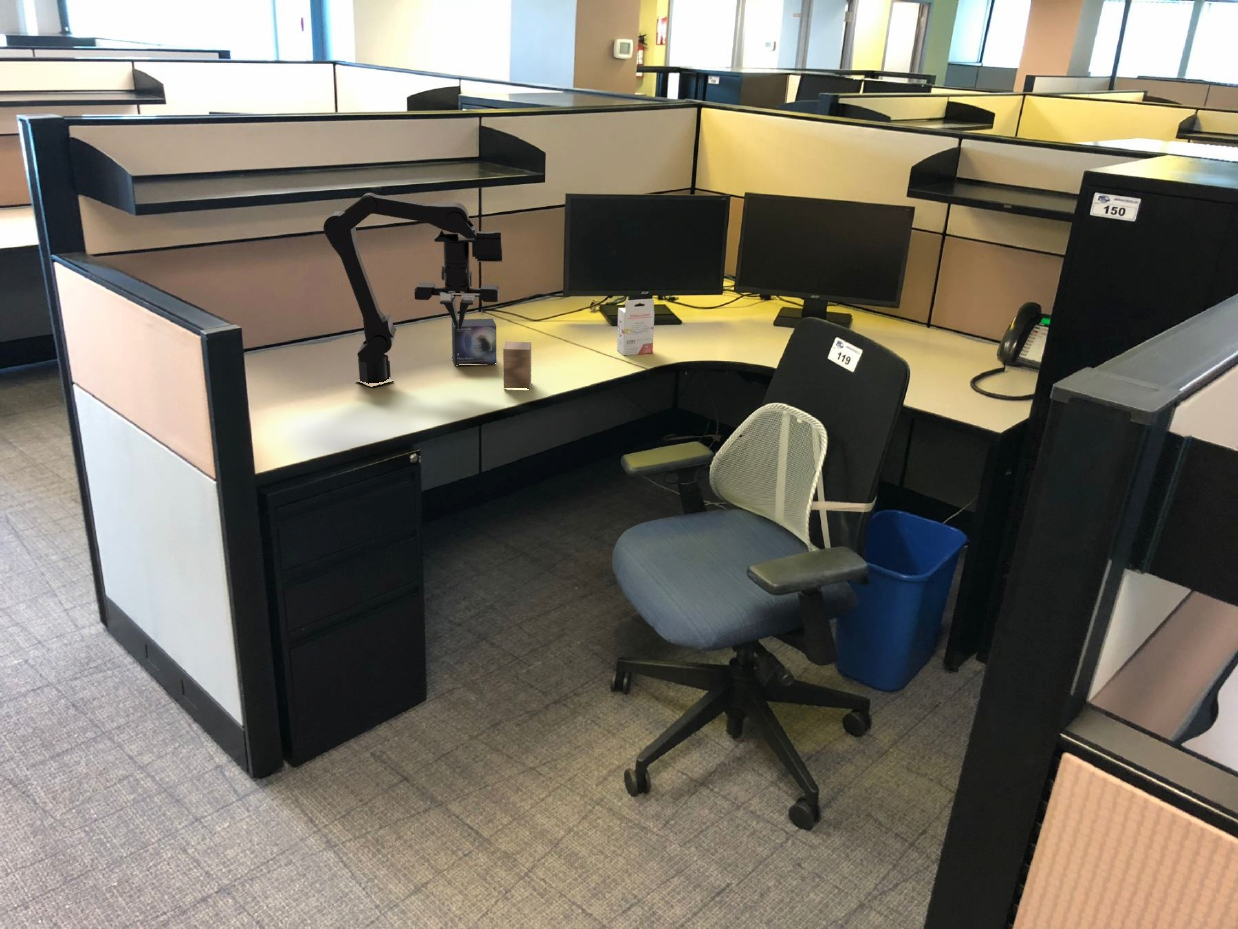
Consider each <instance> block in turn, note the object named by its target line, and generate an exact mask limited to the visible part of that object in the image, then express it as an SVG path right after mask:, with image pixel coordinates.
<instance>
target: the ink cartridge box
mask: <svg viewBox="0 0 1238 929" xmlns="http://www.w3.org/2000/svg"><path fill="white" fill-rule="evenodd" d="M639 304H641V305H642V306H636V305H639ZM624 305H625V306H624V307H618V309H617V336H616V337H617V340H616V342H617V343H616V350H617V352H618V353H620V354H621V355H622V356H624V355H627V356H636V355H647V354H653V351H654V330H655V328H654V327H655V300H654V298H646V299H645V298H641V299H631V300H630V299H629V300H628V299H627V300H625V302H624Z"/></svg>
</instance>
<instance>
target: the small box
mask: <svg viewBox="0 0 1238 929" xmlns="http://www.w3.org/2000/svg"><path fill="white" fill-rule="evenodd" d="M458 322H459V318H458ZM451 348H452V349H451V352H452V356H451V359H453V360H452V362H453V361H454V362H453V365H454V364H455V365H459V364H495V363H497V324H496V322H495V320H494V318H466V319H465V318H464V321H463V324H462V328H461V329H459V328H458V329H456V327H455V325H454V323H453V320H452V319H451ZM455 365H454V366H455Z"/></svg>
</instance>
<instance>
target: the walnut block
mask: <svg viewBox="0 0 1238 929" xmlns="http://www.w3.org/2000/svg"><path fill="white" fill-rule="evenodd" d="M502 354H503V357H502V359H503V370H502V371H503V389H504V388H527V389H530V390H531V386H530V384H531V385H532V342H530V341H505V342H504V346H503V349H502Z"/></svg>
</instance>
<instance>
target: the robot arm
mask: <svg viewBox="0 0 1238 929" xmlns="http://www.w3.org/2000/svg"><path fill="white" fill-rule="evenodd" d="M371 214H372V215H373V214H374V215H377V216H378V215H380V216H385V217H392V218H398V219H404V220H409V221H416V222H421V223H422V222H423V223H425V224H429V225H431V226H433V227H436V228H437V229H439V230H440V231H439V233H438V234H436V235H435V237H434V242H435V243H443V244H442V247H443V250H442V251H443V252H442V253H443V266H441V275H440V276H441V280H442V281H443V282H444V287H442V286H440V287H439V286H436V283H435V282H418V284H417V285H416V287H415V288H414V300H416V301H429V300H430V299H431V298H432V297H433V296H435V297H439V298H440V300H439V304H440V305H444V307H445V309H446V310H447V312H448V313H449V315H450V318H451V321H452V320H453V323H454V325H455V327H456V329H458V328H459V329H461V328H462V324H463V321H464V319H465V317H466V313H467V310H468V308H469V306H473V305H474V304H475V301H476V300H477V299H476V298H480V300H481V301H482V302H483V303H497V302H499V299H500V297H501V289H500V286H499V285H498V284H482V285H481V286H480V288H472V286H473V272H472V271H471V270H470V269H471V267H470V266H471V265H470V264H471V263H470V243H471V255H472V258H474V260H476V261H477V263H503V244H502V231H501V230H493V231H478V229H477V228H476V226H475V225H474V224H473V222H472V221H471V219H470V216H469V215H470V214H469V212H468V209H467V208H466V206H465V205H464V204H462V203H460V202H454V201H453V202H452V201H451V202H431V203H426V202H420V201H416V200H409V199H403V198H397V197H391V196H385V195H379V194H375V193H374V192H366V193H365V194H363V195H362V197H361V198H360V199H358V200H357V201H356V202H354V203H353V204H352V205H350V206H349V207H348V208H346V209H345V210H343V211H342V210H337V211H335V212H334V211H333V213H332V214H330V216H329V217H328V218H326V219H325V221H324V223H323V233H324V235H325V237H326V239H327V240H328V242H329V244H330V246H331V247H332V248H333V249H334V251H335V253H336V254H337V255H338V256H339V258H340V260H341V263H342V265H343V268H344V270H345V273H346V276H347V279H348V281H349V284H350V287H351V290H352V291H353V294H354V297H355V299H356V303H357V305H358V308H359V310H360V313H361V315H362V322H363V333H364V338H365V340H364V341H363V342H362V343H361V345H360V347H359V349H358V352H357V354H356V355H357V362H358V375H359V376H358V377H359V378H358V379H360V381H362V382H366V383H368V384H369V383H379V382H384V381H386V380H387V379H389V377H390V378H391V377H392V375H391V362H390V360H389V355H388V352H389V351H391V349H392V347H393V344H394V341H395V337H396V331H397V328H396V326H394V324H393V318H392V314H390V313H389V314H387V315H385V314H384V313H383V312H382V310H381V309H380V307H379V304H378V301H377V298H376V296H375V293H374V290H373V286H372V284H371V282H370V278H369V277H368V274H367V271H366V268H365V264H364V262H363V260H362V257H361V254H360V251H359V244H358V232H357V230H356V229H357V228H356V226H357V225H359V224H360V223H361V222H363V221H364V220H365V219H367V218H368V217H369V216H370V215H371ZM447 232H448V233H447ZM460 235H461V236H460ZM457 297H461V298H462V299H461V301H460V302H459V314H458V308H457ZM458 319H459V322H458Z"/></svg>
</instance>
